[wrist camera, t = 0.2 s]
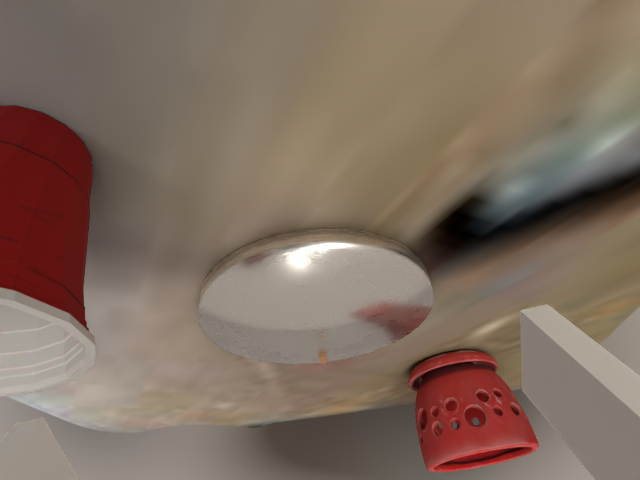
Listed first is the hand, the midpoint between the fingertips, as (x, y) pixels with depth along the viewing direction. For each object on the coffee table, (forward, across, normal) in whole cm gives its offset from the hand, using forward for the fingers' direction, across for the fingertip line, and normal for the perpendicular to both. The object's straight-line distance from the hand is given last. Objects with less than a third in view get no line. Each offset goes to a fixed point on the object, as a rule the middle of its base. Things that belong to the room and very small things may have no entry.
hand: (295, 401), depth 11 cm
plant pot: (+34, +16, -29) cm, 48 cm away
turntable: (+23, +1, -9) cm, 25 cm away
